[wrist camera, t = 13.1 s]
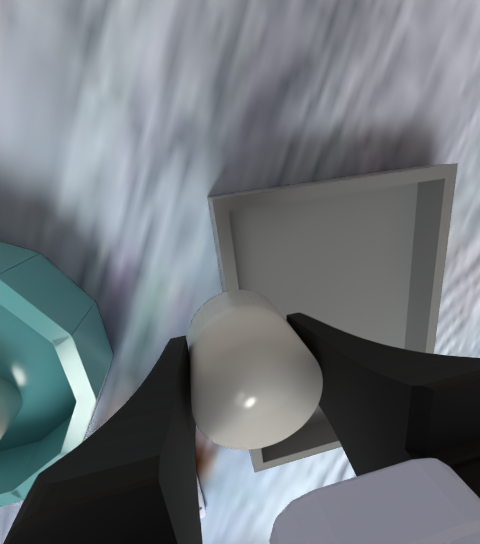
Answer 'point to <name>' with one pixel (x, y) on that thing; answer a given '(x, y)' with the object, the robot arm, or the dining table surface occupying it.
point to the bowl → (46, 365)
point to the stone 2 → (249, 372)
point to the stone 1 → (8, 404)
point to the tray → (341, 263)
